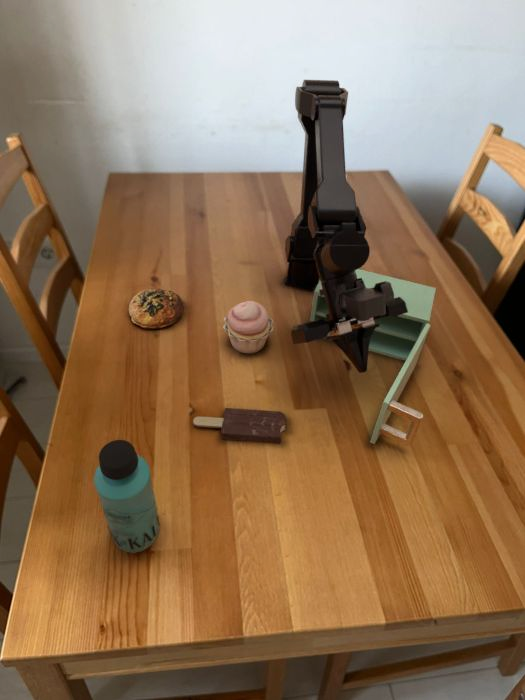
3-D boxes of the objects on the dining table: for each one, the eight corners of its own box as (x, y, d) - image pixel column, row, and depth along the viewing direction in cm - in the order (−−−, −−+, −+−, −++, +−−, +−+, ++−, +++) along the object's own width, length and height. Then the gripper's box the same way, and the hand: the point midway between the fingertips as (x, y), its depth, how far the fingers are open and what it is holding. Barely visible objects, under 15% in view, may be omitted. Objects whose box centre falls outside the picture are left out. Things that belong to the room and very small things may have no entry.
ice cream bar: (191, 437, 81) (285, 443, 81) (190, 431, 80) (286, 437, 80) (195, 411, 85) (285, 417, 85) (195, 405, 84) (286, 411, 84)
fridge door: (442, 377, 93) (460, 336, 86) (404, 459, 80) (422, 418, 73) (411, 364, 95) (426, 322, 88) (369, 442, 82) (383, 401, 75)
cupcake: (248, 319, 102) (249, 279, 95) (282, 343, 97) (286, 303, 90) (212, 341, 97) (211, 300, 90) (246, 367, 93) (247, 326, 86)
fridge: (413, 363, 95) (429, 320, 88) (307, 334, 100) (314, 291, 92) (420, 329, 102) (436, 287, 95) (321, 303, 107) (328, 261, 99)
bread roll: (196, 311, 103) (191, 292, 99) (153, 343, 98) (146, 325, 94) (161, 288, 108) (155, 269, 104) (118, 317, 103) (111, 299, 99)
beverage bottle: (116, 515, 72) (88, 429, 57) (164, 512, 72) (148, 426, 58) (110, 561, 67) (78, 480, 53) (161, 558, 68) (144, 477, 53)
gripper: (307, 283, 71) (336, 391, 72) (416, 255, 77) (442, 355, 78) (278, 294, 81) (304, 388, 82) (376, 268, 87) (399, 356, 88)
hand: (363, 372), depth 82 cm, fingers closed
